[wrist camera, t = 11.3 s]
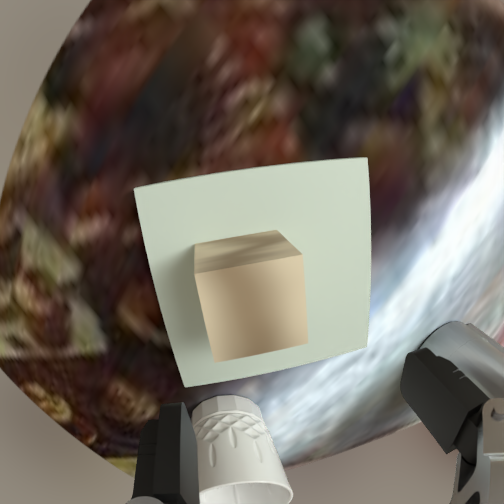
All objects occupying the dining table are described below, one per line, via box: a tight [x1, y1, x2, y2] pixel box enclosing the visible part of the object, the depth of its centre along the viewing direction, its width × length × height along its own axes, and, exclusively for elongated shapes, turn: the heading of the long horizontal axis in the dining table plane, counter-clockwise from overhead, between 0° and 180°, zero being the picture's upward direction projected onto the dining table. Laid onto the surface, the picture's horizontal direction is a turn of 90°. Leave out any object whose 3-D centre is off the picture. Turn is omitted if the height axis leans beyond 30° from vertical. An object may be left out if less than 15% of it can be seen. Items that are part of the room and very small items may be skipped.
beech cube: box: [194, 230, 308, 363], centre depth 19 cm, size 6×6×6 cm
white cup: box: [191, 395, 293, 504], centre depth 22 cm, size 8×8×10 cm
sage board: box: [134, 157, 371, 387], centre depth 23 cm, size 16×16×1 cm
